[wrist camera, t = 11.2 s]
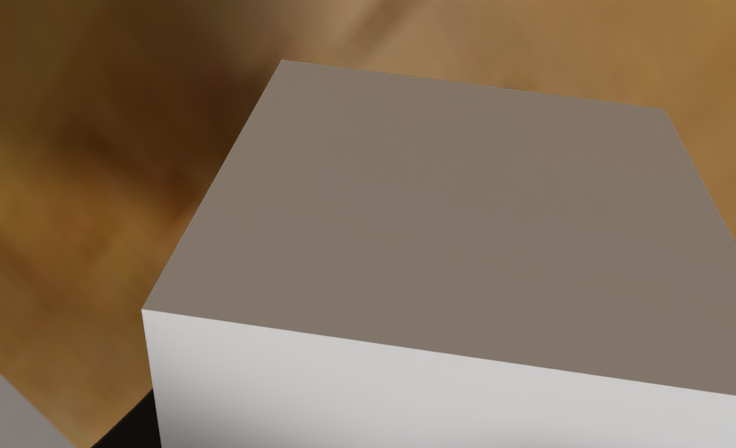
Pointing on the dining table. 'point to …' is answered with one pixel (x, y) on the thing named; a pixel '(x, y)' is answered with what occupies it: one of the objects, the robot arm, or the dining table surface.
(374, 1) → the dining table surface
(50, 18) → the dining table surface
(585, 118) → the white cardboard carton
